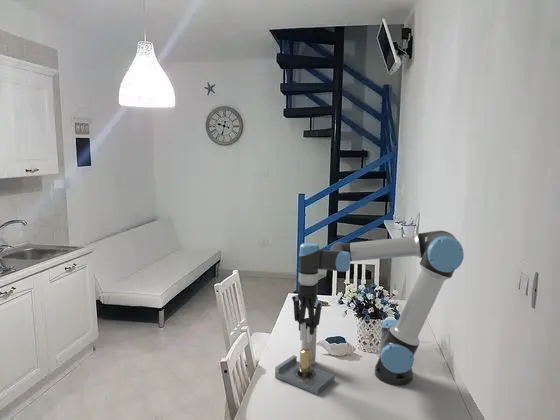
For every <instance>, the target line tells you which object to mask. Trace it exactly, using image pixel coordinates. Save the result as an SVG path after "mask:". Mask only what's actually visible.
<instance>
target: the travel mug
mask: <svg viewBox="0 0 560 420" xmlns="http://www.w3.org/2000/svg"><path fill="white" fill-rule="evenodd" d="M304 322H305V323H306V332H305V339H303V340H302V341H301V347H300V350H301V349H305V348H306V349H310V350H311V366H312V367H314V366H315V365H316V359H317V358H316V355H317V354H316V353H317V333H318V331H317V328H318V325H317V326H316V327H314V334H312V341H311V342H309V343H307V326H309V317H305V319H304ZM304 322H303V323H304Z"/></svg>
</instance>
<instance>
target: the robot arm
mask: <svg viewBox="0 0 560 420" xmlns="http://www.w3.org/2000/svg"><path fill="white" fill-rule="evenodd" d="M464 255H465V253H464V249H463V246H462V244H461V242H460V241H459V240H458V239H457V238H456V237H455V236H454V235H453V234H452V233H450V232H448V231H445V230H434V231H432V230H431V231H427V232H417V233H416V234H415V235H414V236H404V237H395V238H385V239H376V240H375V239H374V240H367V241H366V240H365V241H357V242H356V241H355V242H345V243H344V242H341V241H338V242H335V243H334V244H332V245H331V247H330V248H329V250H328V249H326V250H325V249H322V248H321V249H320V245H319V244H318V243H316V242H304V243H301V244H300V246H299V253H298V285H297V286H298V287H297V291H298V294H295V295H293V296H292V297H291V299H292V302H293V314H294V317H293V318H294V321H295V322H298V331H299V333H300V334H299V341H301V342H302V340H303V339H305V332H306V323H305V322H304V319H305V318H306V312H307V313H308V318H309V326H307V343H309V342H311V341H312V334H314V327H316V326H317V327H318V326H319V325H320V320H321V319H320V318H321V314H322V308H323V305H324V301H320V300H319V298H318V291H319V290H318V287H319V286H318V285H319V284H318V283H319V270H324V271H325V270H326V271H334V272H348V271H349V270H350V269H351V268H350V267H351V262H357V261H358V262H359V261H371V260H381V259H394V258H395V259H396V258H406V257H418V258H420V261H419V266H420V268H421V270H420V272H419V274H418V276H417V279H416V281H415V283H414V285H413V288H412V290H411V292H410V294H409V296H408V298H407V301H406V303H405V305H404V307H403V309H402V311H401V313H400V316H399V318H398V319H385V320H383V321H382V323H381V327H380V328H381V336H380V350H379V351H380V353H379V357H378V359H377V362H376V365H375V367H374V375H375V376H376V378H377V379H378V380H380V381H381V382H384V383H386V384H389V385H394V386H395V385H396V386H403V385H409V384H410V383H412V381H413V378H414V372H413V368H412V367H413V365H414V362H415V357H414V356H415V354H416V352H417V350H418V348H419V346H420V342H421V341H420V339H419V336H420V333H421V331H422V329H423V327H424V325H425V323H426V321H427V318H428V316H429V315H430V312H431V310H432V309H433V306H434V304H435V302H436V299H437V297H438V295H439V293H440V291H441V289H442V287H443V285H444V283H445V281H447V280H449V279H452V277H453V274H454V273H455V271H456V270H457V269H459V268H460V266H461V265H462V263H463V261H464V259H465V258H464V257H465V256H464ZM306 310H307V311H306ZM303 322H304V323H303Z"/></svg>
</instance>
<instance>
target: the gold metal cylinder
mask: <svg viewBox="0 0 560 420" xmlns="http://www.w3.org/2000/svg"><path fill="white" fill-rule="evenodd" d="M299 352H300V353H299V362H300V375H299V376H301V377H310V376H311V350H310V349H306V348H305V349H301V348H300V351H299Z"/></svg>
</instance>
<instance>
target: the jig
mask: <svg viewBox="0 0 560 420" xmlns="http://www.w3.org/2000/svg"><path fill="white" fill-rule="evenodd" d="M297 358H298V357H297V355H293V354H292V356H290V357H289V358H286V360H284V361H282V362H281V363H280V364H278V365H277V366H275V368H274V370H275V372H274V378H275V379H277V380H280V381H282V382H285V383H287V384H289V385H292V386H294V387H297V388H299V389H301V390H304V391H307V392H309V393H311V394H314V395H316V396H318V395H320V394H321V393H323V391H325V390H326V389H327V388H328V387H329V386H330V385H332V384H333V383H334V382H335V379H336V378H335V377H336V375H335V374H333V373H330V372H327V371H325V370H322V369H319V368H317V367H316V366H315V367H314V366H311V376H310V377H301V376H299V375H300V361H298V360H297Z"/></svg>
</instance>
